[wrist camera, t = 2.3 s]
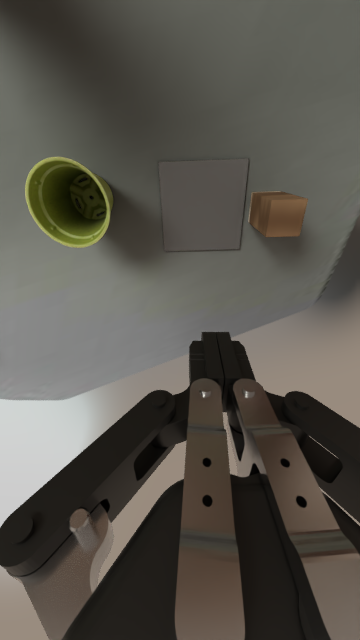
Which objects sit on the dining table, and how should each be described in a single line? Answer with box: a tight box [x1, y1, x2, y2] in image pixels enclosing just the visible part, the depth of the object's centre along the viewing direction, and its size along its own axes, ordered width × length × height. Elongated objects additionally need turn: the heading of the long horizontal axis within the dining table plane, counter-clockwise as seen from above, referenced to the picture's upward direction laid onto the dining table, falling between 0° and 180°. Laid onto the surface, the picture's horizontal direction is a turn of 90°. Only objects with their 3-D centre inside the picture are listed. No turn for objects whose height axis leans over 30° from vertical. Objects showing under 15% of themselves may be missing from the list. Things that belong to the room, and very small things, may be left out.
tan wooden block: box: [248, 191, 308, 237], centre depth 31 cm, size 4×4×9 cm
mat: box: [158, 159, 249, 251], centre depth 35 cm, size 12×12×1 cm
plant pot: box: [25, 157, 113, 248], centre depth 31 cm, size 9×9×9 cm
